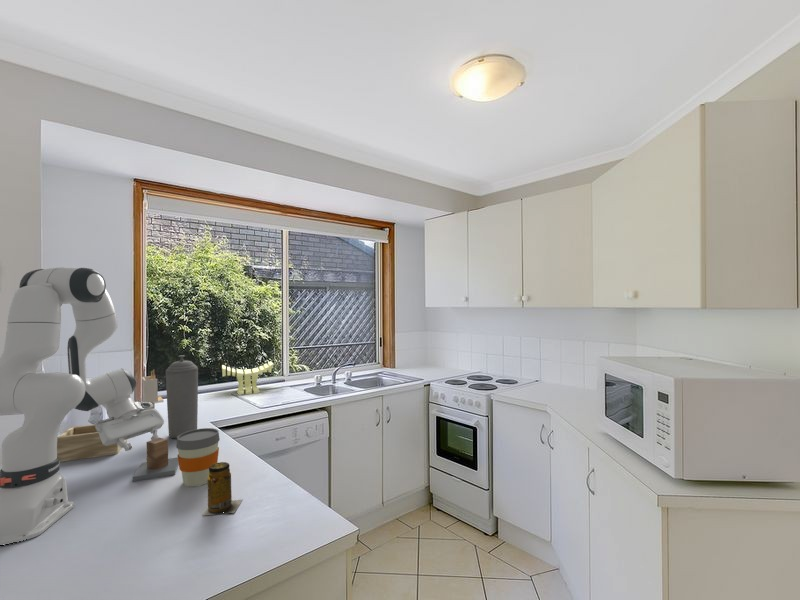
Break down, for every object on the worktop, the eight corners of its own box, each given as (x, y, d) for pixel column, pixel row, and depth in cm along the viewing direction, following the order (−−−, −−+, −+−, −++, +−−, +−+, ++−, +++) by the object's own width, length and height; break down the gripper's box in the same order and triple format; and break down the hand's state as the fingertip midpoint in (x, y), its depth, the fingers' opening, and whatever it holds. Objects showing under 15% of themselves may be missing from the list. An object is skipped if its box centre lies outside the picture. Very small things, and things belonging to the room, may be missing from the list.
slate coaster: (175, 474, 131) (174, 470, 131) (132, 481, 126) (132, 476, 126) (180, 461, 142) (180, 457, 142) (141, 467, 137) (141, 462, 137)
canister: (205, 432, 173) (204, 354, 173) (179, 441, 162) (177, 358, 162) (186, 428, 179) (185, 352, 179) (159, 437, 167) (158, 356, 167)
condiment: (212, 502, 112) (211, 461, 112) (242, 500, 113) (241, 459, 113) (201, 516, 105) (201, 472, 105) (234, 514, 106) (233, 470, 106)
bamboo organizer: (117, 453, 150) (116, 430, 150) (57, 462, 143) (56, 437, 143) (126, 442, 162) (126, 420, 162) (71, 449, 155) (71, 427, 155)
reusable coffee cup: (178, 493, 117) (177, 444, 117) (175, 478, 128) (174, 432, 128) (223, 482, 124) (222, 435, 124) (217, 468, 135) (216, 425, 135)
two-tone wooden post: (145, 426, 184) (144, 372, 184) (142, 420, 194) (141, 369, 194) (164, 422, 189) (163, 370, 189) (161, 417, 198) (160, 367, 198)
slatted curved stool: (271, 386, 264) (270, 360, 264) (273, 391, 250) (273, 363, 250) (222, 391, 252) (222, 364, 252) (222, 396, 238) (222, 367, 238)
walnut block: (168, 464, 135) (167, 439, 135) (155, 470, 131) (155, 443, 131) (159, 462, 137) (159, 437, 137) (146, 468, 133) (146, 441, 133)
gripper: (96, 417, 130) (115, 450, 127) (155, 401, 149) (173, 430, 145) (89, 428, 132) (107, 461, 128) (148, 412, 151) (165, 440, 147)
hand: (143, 444), depth 137 cm, fingers open, 8 cm apart
